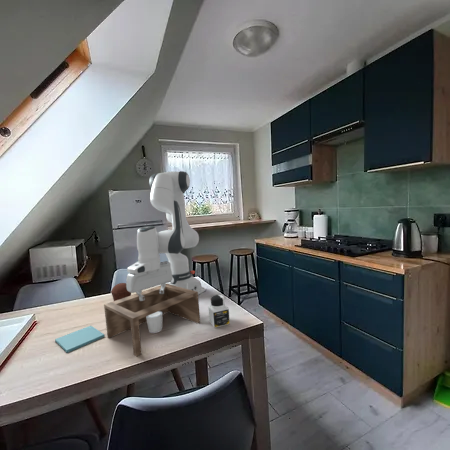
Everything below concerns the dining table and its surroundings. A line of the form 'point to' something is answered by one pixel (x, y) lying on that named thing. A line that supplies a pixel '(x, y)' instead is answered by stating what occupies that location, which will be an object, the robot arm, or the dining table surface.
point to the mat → (79, 338)
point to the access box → (149, 310)
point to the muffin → (120, 291)
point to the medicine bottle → (218, 311)
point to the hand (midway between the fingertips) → (152, 296)
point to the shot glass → (154, 322)
